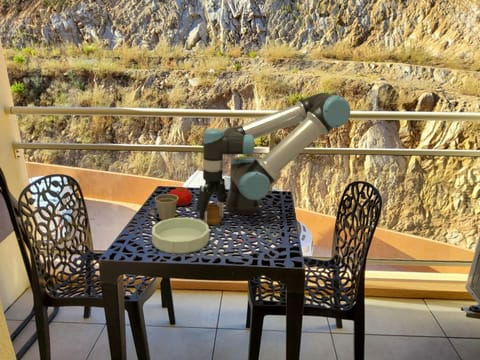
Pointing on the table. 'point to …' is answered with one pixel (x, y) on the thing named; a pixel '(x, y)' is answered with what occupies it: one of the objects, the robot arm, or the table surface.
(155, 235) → the bowl
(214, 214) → the ornamental finial
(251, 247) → the table surface
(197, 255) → the table surface
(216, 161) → the robot arm
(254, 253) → the table surface
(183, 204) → the tomato
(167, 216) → the flower pot
